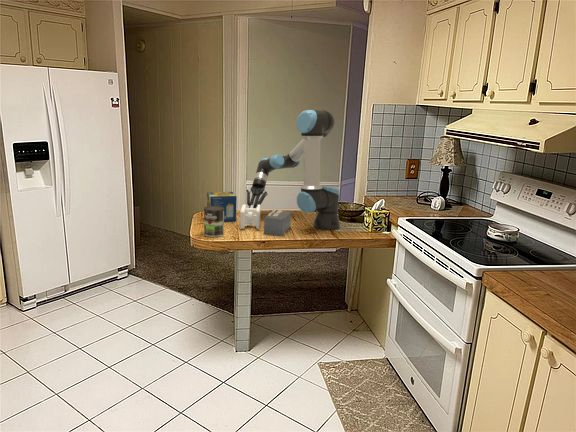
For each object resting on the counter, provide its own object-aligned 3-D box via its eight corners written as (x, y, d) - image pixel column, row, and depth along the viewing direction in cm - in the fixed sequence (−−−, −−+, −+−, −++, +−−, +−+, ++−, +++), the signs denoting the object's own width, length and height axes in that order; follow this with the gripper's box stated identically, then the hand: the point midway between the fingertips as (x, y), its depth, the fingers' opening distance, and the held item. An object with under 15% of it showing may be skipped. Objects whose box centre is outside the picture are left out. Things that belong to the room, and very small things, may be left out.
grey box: (290, 227, 248) (291, 210, 245) (282, 236, 231) (282, 218, 228) (273, 225, 250) (273, 208, 248) (263, 233, 233) (264, 216, 231)
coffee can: (218, 238, 223) (218, 211, 219) (200, 235, 226) (200, 209, 222) (227, 232, 233) (227, 206, 229) (209, 230, 235) (209, 204, 232)
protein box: (206, 218, 258) (206, 192, 254) (232, 216, 264) (232, 191, 260) (210, 223, 249) (209, 196, 245) (236, 221, 254) (237, 195, 250)
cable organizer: (259, 231, 238) (259, 210, 235) (239, 230, 238) (239, 209, 235) (260, 223, 252) (260, 203, 249) (241, 222, 252) (242, 203, 249)
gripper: (271, 186, 262) (262, 220, 252) (251, 184, 266) (240, 218, 255) (269, 179, 256) (259, 214, 245) (248, 177, 259) (237, 211, 248)
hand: (250, 216), depth 250 cm, fingers closed
